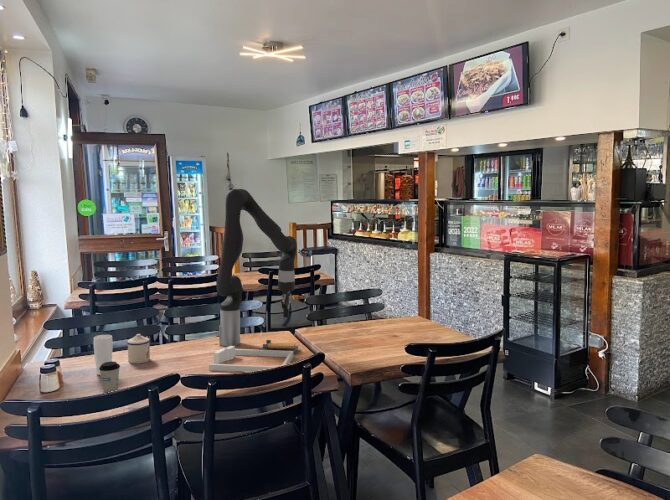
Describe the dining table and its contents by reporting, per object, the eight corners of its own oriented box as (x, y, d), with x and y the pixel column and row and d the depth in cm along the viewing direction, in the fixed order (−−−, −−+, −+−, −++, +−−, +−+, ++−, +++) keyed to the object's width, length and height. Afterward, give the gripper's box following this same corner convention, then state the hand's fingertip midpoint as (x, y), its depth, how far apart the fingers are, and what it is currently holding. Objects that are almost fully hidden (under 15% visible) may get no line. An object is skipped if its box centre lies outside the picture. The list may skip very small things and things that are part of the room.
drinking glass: (98, 370, 196) (97, 334, 194) (116, 370, 196) (114, 334, 195) (91, 376, 189) (90, 339, 187) (109, 376, 189) (108, 339, 188)
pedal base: (260, 353, 221) (260, 344, 221) (264, 348, 229) (264, 339, 229) (295, 354, 219) (295, 345, 219) (298, 349, 227) (298, 340, 227)
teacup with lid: (152, 362, 207) (151, 335, 206) (129, 365, 202) (128, 338, 201) (147, 354, 217) (147, 329, 216) (125, 357, 213) (125, 331, 212)
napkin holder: (213, 368, 202) (213, 354, 202) (205, 360, 212) (205, 347, 211) (247, 362, 210) (247, 349, 209) (237, 355, 220) (237, 342, 219)
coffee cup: (114, 385, 180) (113, 359, 179) (124, 389, 176) (123, 363, 175) (95, 391, 175) (94, 364, 174) (106, 395, 171) (105, 368, 170)
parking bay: (209, 370, 197) (208, 364, 197) (226, 353, 220) (226, 348, 219) (283, 373, 195) (283, 367, 194) (293, 356, 217) (293, 351, 216)
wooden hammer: (264, 348, 222) (264, 345, 222) (266, 345, 227) (266, 342, 227) (293, 348, 221) (293, 345, 221) (295, 345, 226) (295, 342, 226)
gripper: (281, 277, 228) (280, 313, 229) (275, 282, 215) (274, 320, 216) (297, 277, 227) (296, 314, 229) (291, 282, 214) (291, 320, 216)
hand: (286, 317), depth 222 cm, fingers closed
